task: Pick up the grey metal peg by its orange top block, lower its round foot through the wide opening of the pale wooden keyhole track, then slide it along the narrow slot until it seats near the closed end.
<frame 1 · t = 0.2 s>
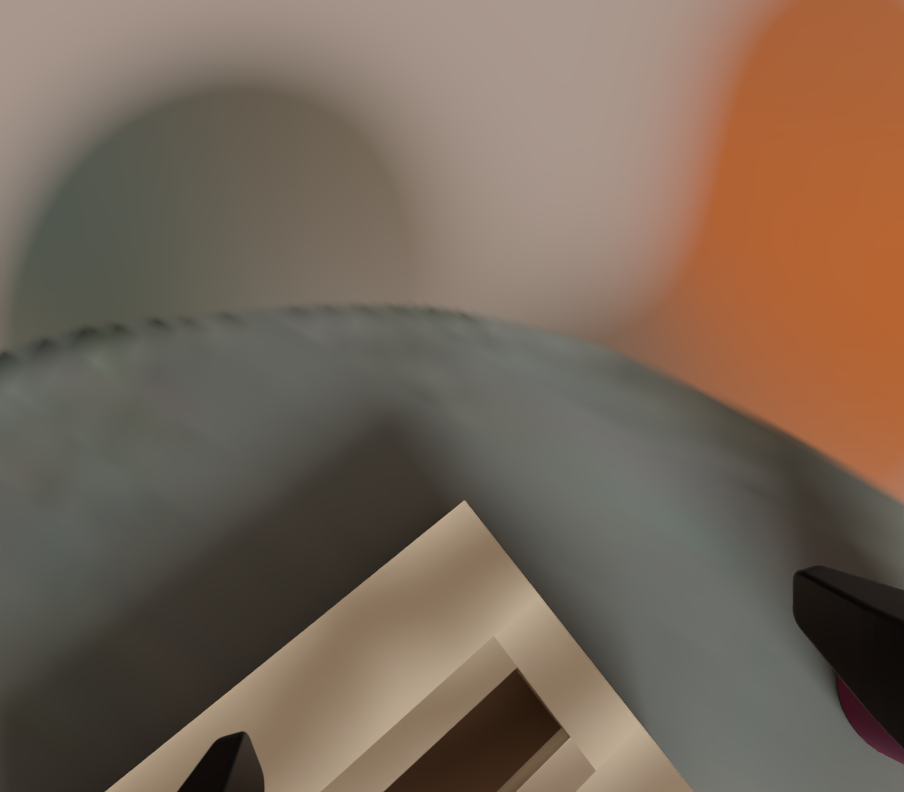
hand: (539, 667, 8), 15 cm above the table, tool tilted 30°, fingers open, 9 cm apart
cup: (889, 690, 23), on the table
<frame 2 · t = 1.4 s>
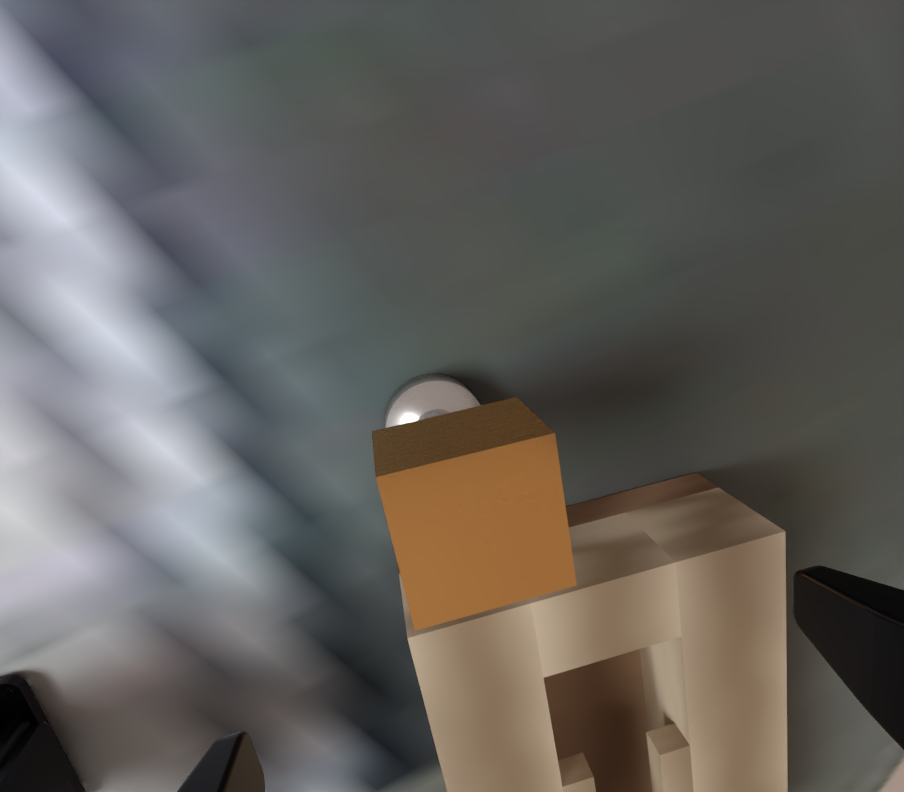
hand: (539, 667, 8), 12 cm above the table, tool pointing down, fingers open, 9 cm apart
peg: (432, 420, 20), on the table
keyhole track: (579, 699, 25), on the table
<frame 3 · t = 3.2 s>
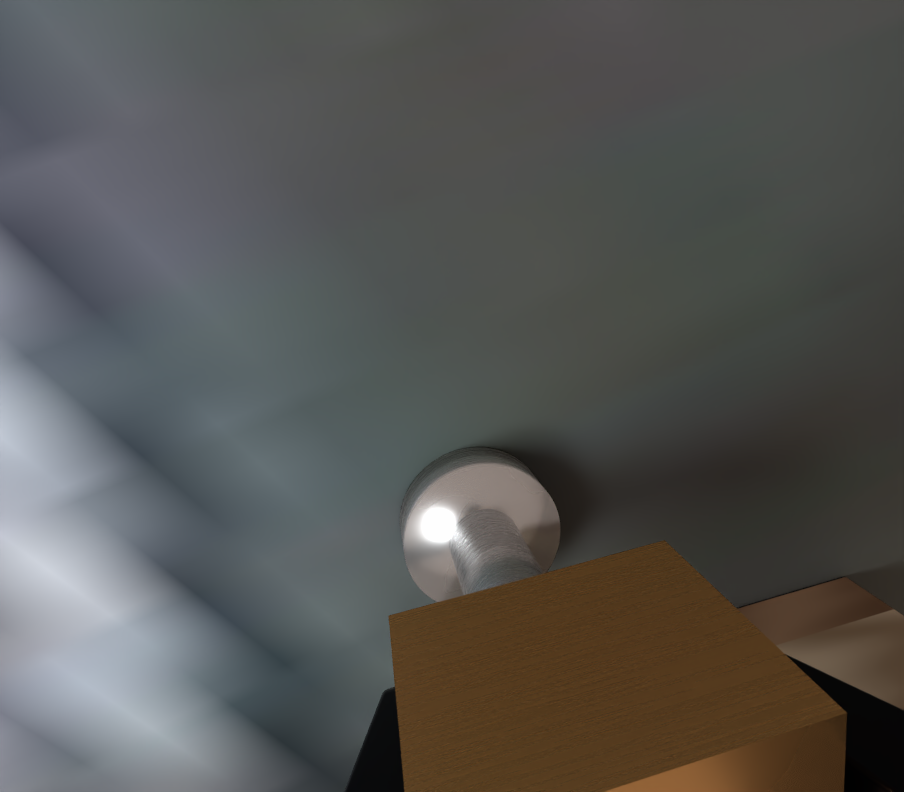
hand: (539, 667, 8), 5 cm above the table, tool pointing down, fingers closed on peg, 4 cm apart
peg: (473, 516, 13), on the table, touching gripper
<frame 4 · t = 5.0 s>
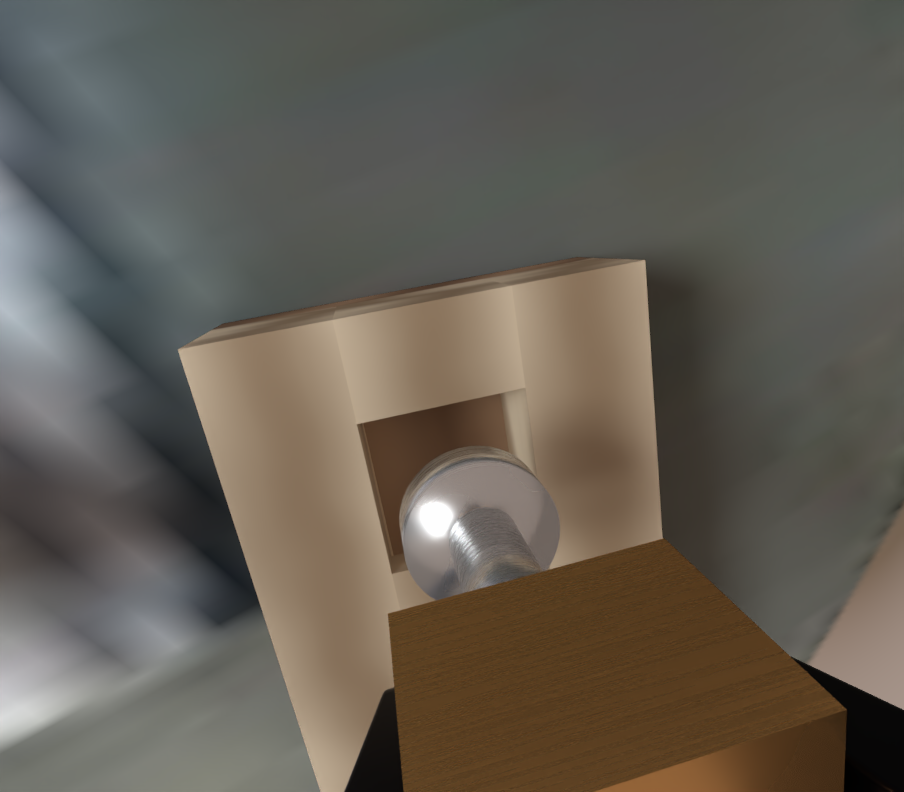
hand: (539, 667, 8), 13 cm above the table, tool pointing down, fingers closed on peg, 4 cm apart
peg: (472, 514, 13), point 8 cm above the table, touching gripper
keyhole track: (452, 530, 22), on the table
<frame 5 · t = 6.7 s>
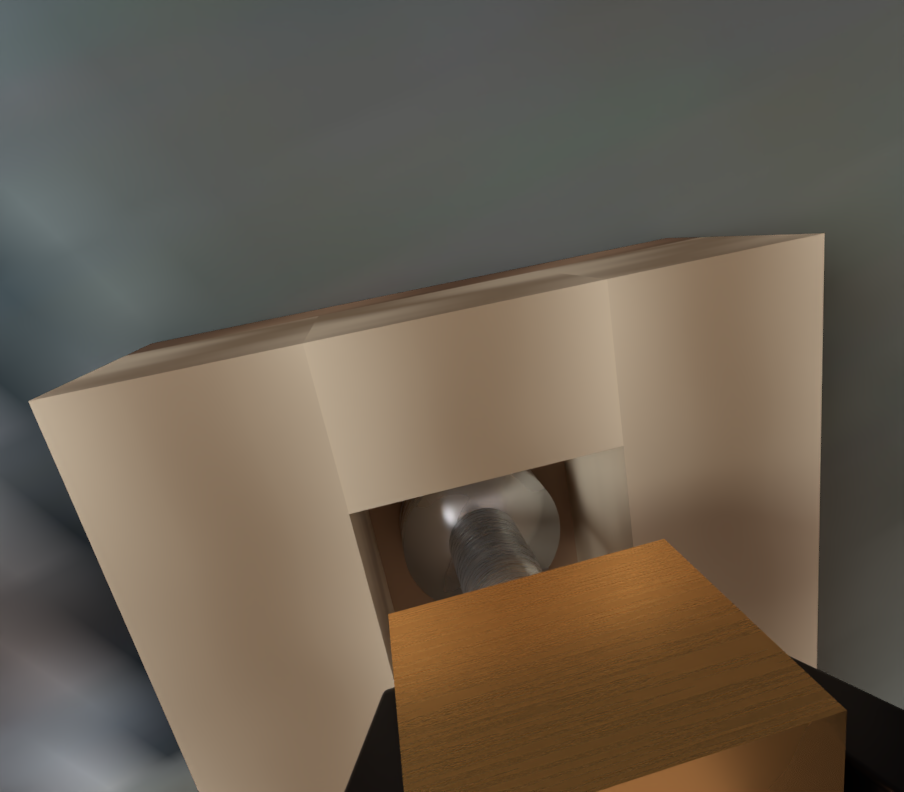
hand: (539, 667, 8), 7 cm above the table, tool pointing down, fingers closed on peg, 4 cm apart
peg: (472, 515, 13), point 2 cm above the table, touching gripper
keyhole track: (488, 619, 16), on the table
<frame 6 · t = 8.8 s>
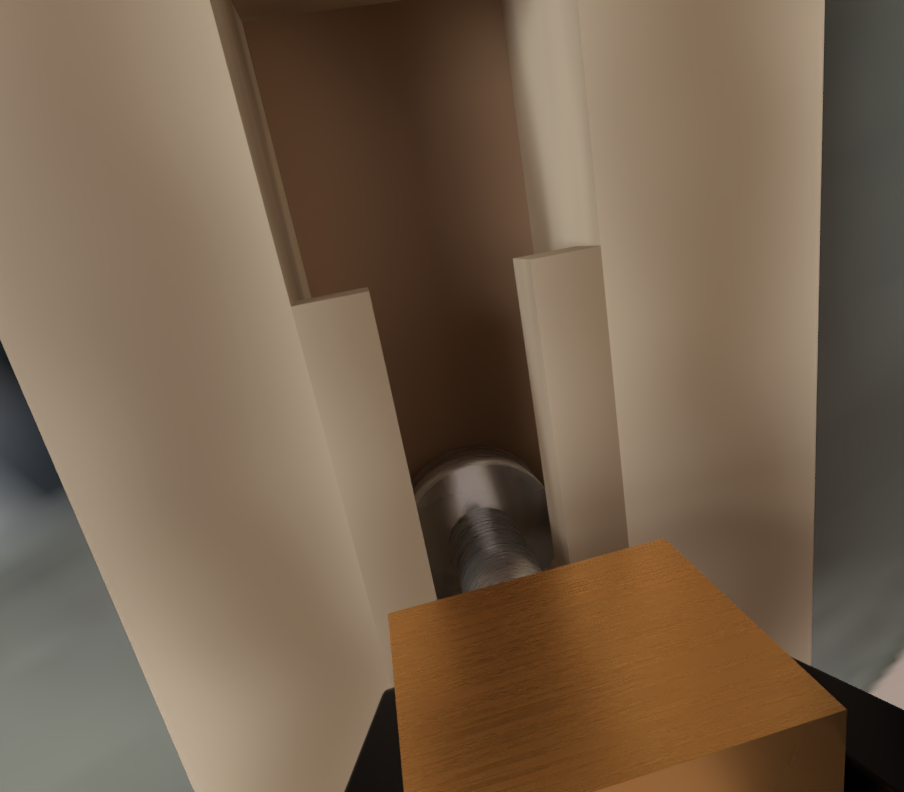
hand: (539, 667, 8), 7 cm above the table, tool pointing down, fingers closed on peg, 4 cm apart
peg: (472, 514, 13), point 2 cm above the table, touching gripper
keyhole track: (431, 344, 14), on the table
when the fingers open (7 cm above the table, at t = 10.5 s): peg stays where it is, resting on keyhole track.
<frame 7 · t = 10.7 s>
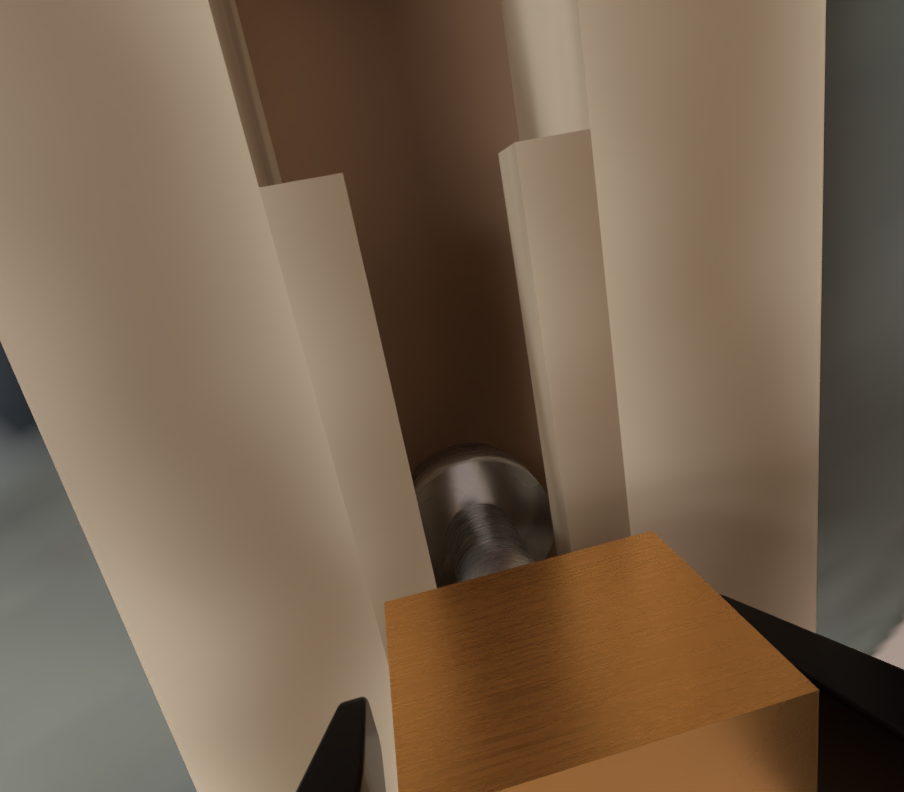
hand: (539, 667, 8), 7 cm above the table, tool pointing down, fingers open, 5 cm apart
peg: (469, 510, 13), point 1 cm above the table, touching keyhole track
keyhole track: (419, 276, 13), on the table
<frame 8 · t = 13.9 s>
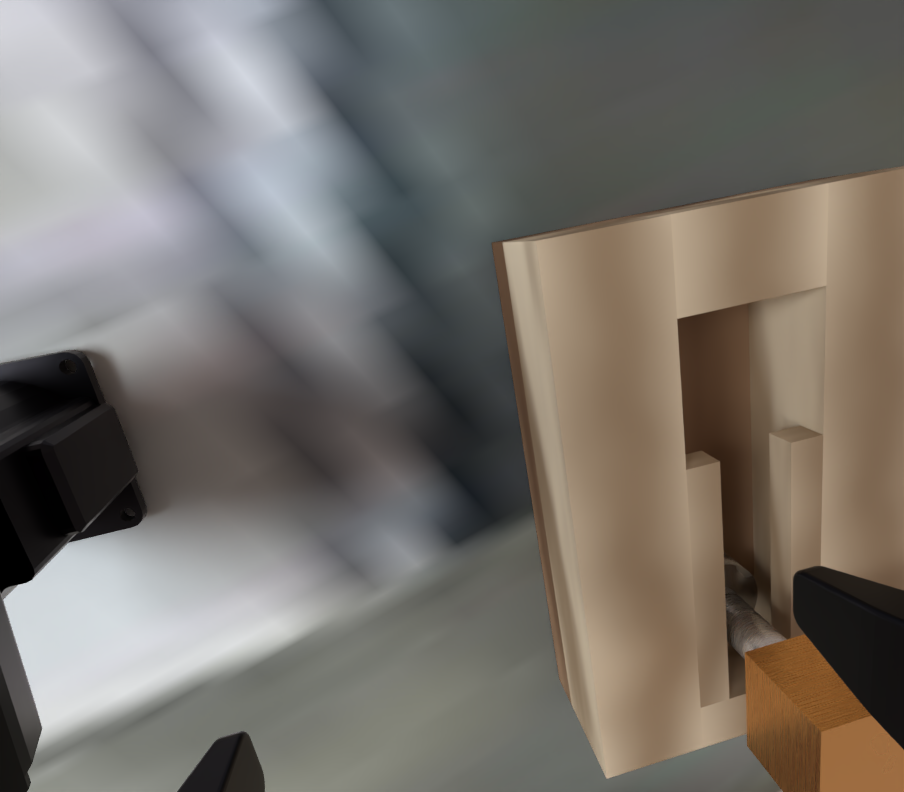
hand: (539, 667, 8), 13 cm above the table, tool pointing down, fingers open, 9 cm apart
peg: (700, 585, 23), point 2 cm above the table, touching keyhole track
keyhole track: (674, 452, 23), on the table
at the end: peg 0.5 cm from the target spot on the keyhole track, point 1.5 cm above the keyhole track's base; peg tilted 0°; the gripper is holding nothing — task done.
